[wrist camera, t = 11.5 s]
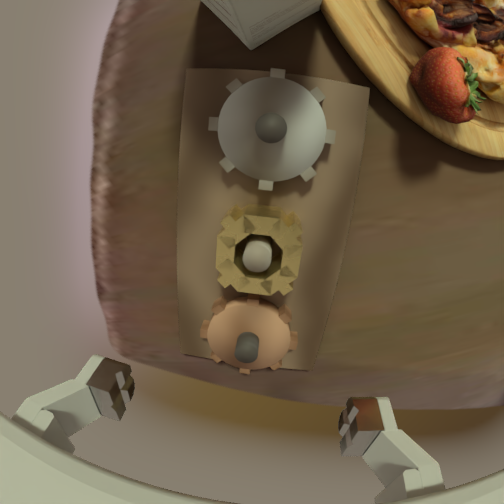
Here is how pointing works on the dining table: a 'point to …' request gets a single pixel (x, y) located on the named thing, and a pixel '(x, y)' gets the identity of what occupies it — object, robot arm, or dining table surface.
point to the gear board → (269, 194)
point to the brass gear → (261, 223)
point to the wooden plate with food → (432, 63)
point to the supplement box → (260, 17)
